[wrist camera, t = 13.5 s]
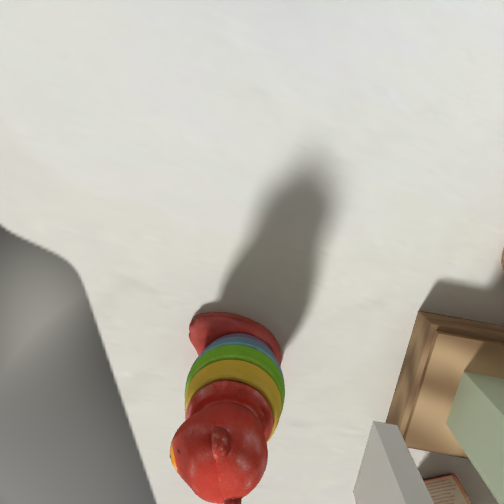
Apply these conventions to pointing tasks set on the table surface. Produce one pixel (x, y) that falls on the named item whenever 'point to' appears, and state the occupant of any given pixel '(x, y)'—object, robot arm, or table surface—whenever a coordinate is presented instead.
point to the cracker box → (446, 490)
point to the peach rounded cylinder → (503, 259)
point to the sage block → (481, 427)
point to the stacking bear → (228, 407)
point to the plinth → (441, 377)
